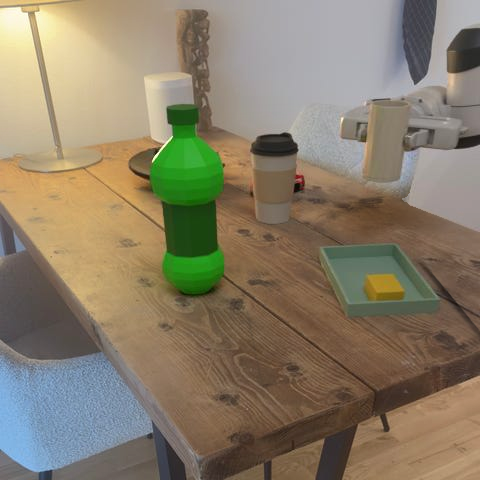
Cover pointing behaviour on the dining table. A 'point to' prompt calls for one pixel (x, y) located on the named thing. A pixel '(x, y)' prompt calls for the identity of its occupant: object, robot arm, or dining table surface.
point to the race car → (298, 184)
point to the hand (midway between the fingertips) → (384, 139)
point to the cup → (386, 140)
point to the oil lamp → (144, 162)
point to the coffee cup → (273, 176)
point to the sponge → (383, 288)
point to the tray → (373, 263)
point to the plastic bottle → (189, 203)
